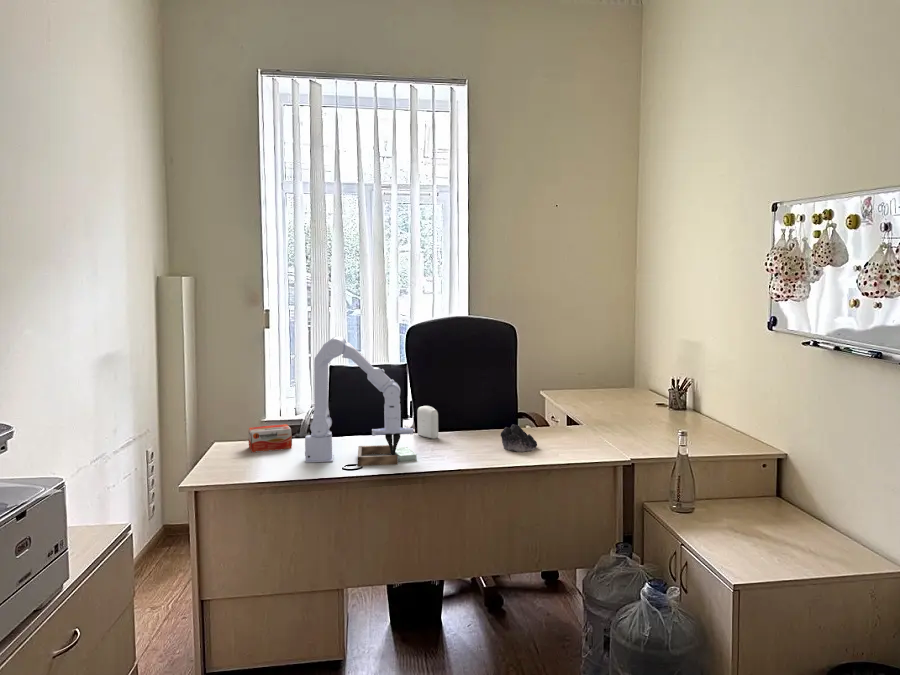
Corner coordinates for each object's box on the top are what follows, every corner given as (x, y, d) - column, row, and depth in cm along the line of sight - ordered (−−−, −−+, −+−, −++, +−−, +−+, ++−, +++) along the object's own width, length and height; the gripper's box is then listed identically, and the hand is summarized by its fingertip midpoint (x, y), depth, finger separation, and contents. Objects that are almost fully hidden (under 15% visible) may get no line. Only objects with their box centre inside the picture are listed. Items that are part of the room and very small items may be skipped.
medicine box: (251, 453, 258) (250, 431, 257) (248, 448, 266) (247, 427, 265) (292, 448, 264) (291, 428, 263) (288, 444, 272) (287, 423, 271)
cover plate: (400, 463, 245) (400, 456, 244) (391, 455, 255) (391, 448, 254) (416, 461, 247) (416, 454, 246) (407, 453, 257) (407, 447, 257)
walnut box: (357, 465, 240) (357, 457, 240) (358, 454, 255) (358, 446, 255) (397, 464, 241) (397, 455, 241) (396, 452, 257) (396, 444, 256)
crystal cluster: (537, 446, 269) (535, 420, 269) (537, 452, 255) (535, 424, 255) (502, 448, 270) (500, 422, 270) (501, 454, 257) (499, 427, 257)
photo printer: (415, 434, 285) (415, 405, 284) (424, 433, 287) (424, 403, 286) (431, 439, 277) (431, 408, 276) (439, 437, 280) (439, 407, 278)
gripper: (371, 419, 243) (372, 458, 244) (413, 418, 244) (414, 456, 246) (371, 415, 250) (372, 453, 251) (412, 414, 251) (412, 451, 253)
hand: (393, 454), depth 249 cm, fingers closed
